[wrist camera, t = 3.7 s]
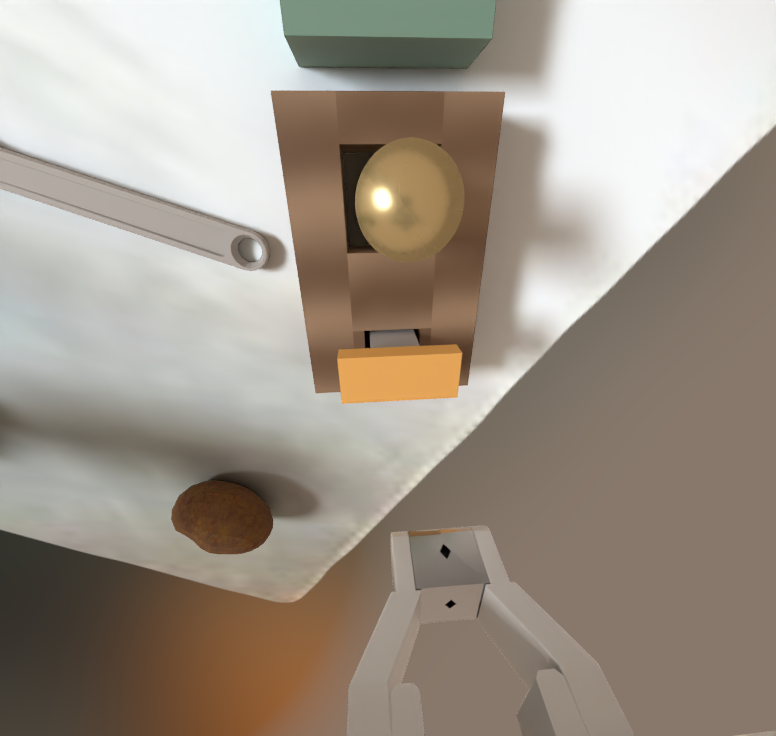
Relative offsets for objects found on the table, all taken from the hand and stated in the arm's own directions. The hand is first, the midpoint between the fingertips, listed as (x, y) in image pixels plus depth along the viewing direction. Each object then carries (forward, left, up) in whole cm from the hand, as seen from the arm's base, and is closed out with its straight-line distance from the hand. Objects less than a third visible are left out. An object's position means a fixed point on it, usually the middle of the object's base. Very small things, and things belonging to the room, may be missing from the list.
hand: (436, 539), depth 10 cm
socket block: (-5, 0, -19) cm, 20 cm away
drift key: (0, 0, -16) cm, 16 cm away
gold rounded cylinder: (-9, 0, -19) cm, 21 cm away
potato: (+19, -17, -19) cm, 32 cm away
